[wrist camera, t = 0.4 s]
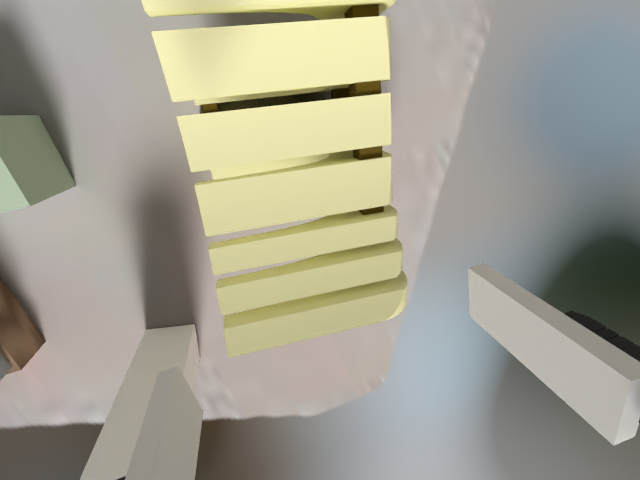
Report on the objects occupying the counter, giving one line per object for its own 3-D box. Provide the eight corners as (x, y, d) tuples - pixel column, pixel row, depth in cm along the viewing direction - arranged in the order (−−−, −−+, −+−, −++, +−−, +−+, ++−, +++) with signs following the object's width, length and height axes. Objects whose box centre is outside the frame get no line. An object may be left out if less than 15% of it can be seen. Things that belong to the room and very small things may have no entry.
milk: (145, 328, 41) (50, 536, 21) (195, 323, 42) (151, 513, 22) (154, 366, 43) (75, 585, 23) (201, 359, 44) (166, 562, 24)
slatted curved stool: (354, 236, 42) (423, 311, 26) (233, 258, 40) (228, 358, 24) (335, -49, 31) (440, -228, 15) (162, -44, 28) (55, -256, 12)
